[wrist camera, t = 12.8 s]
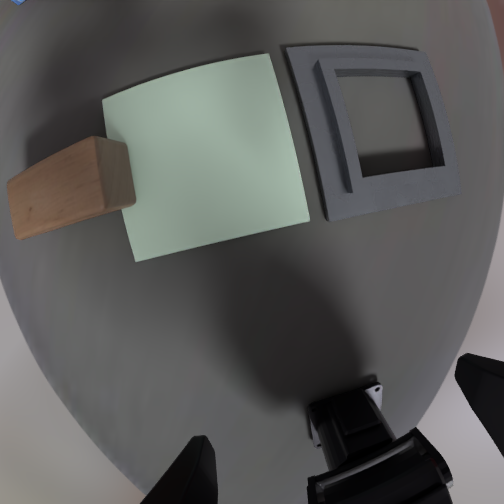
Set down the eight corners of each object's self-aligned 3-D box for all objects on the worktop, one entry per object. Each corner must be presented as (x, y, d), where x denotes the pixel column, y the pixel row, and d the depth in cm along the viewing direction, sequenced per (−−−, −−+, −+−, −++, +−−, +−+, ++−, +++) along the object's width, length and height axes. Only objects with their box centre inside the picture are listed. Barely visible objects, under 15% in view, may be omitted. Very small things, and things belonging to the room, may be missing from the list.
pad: (307, 219, 17) (310, 221, 17) (138, 259, 17) (135, 262, 17) (267, 57, 15) (268, 53, 14) (105, 102, 15) (102, 99, 14)
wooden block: (106, 211, 12) (14, 242, 12) (140, 204, 16) (51, 230, 16) (93, 131, 11) (4, 180, 12) (129, 141, 15) (42, 178, 15)
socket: (456, 193, 17) (469, 194, 16) (326, 220, 17) (334, 223, 16) (421, 54, 15) (431, 48, 13) (284, 51, 15) (288, 41, 13)
